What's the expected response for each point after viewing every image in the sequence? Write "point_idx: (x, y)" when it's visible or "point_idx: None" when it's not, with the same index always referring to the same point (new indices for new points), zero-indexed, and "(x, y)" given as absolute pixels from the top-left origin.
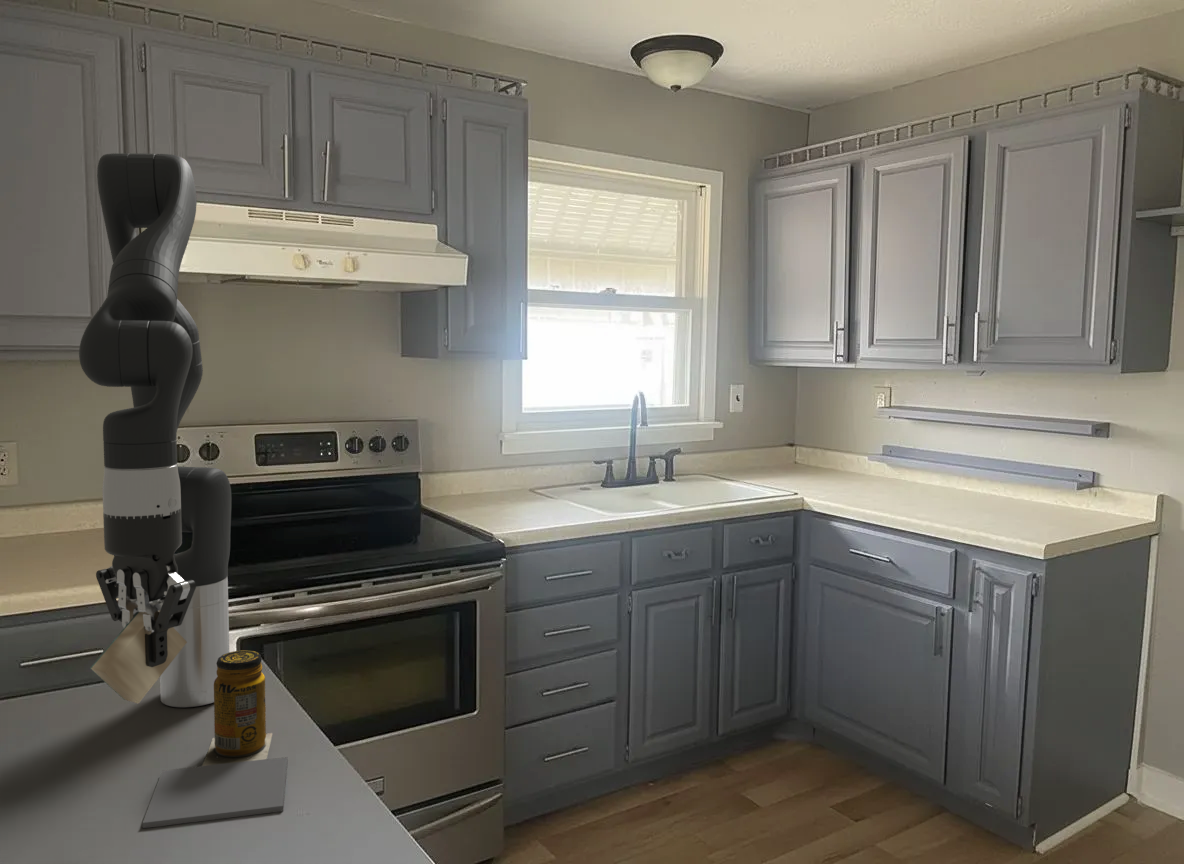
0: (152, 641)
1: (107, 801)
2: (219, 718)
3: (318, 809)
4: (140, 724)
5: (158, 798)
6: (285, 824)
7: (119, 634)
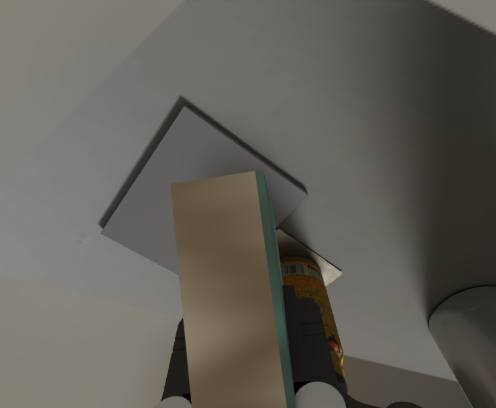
0: (184, 374)
1: (301, 109)
2: (297, 293)
3: (80, 252)
4: (471, 243)
5: (235, 153)
6: (71, 215)
7: (282, 349)
